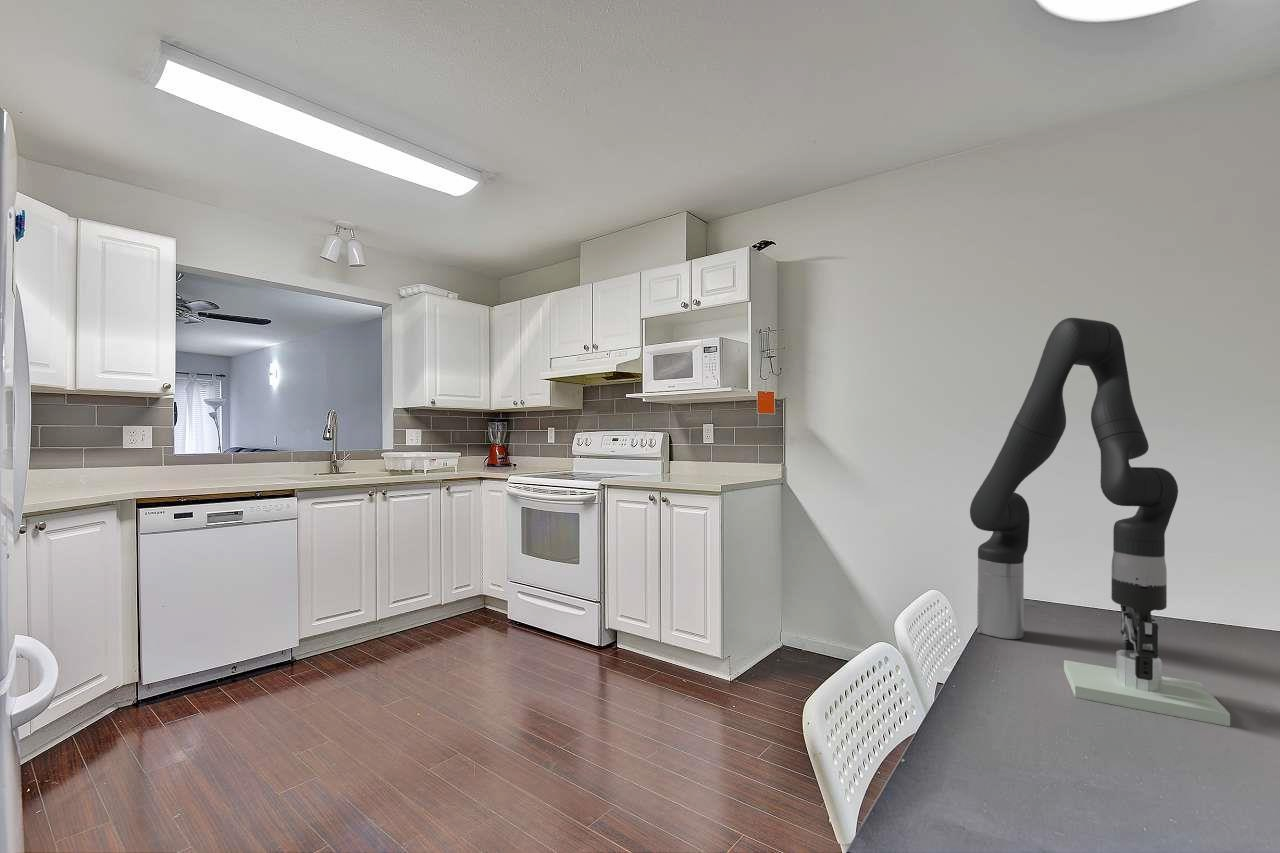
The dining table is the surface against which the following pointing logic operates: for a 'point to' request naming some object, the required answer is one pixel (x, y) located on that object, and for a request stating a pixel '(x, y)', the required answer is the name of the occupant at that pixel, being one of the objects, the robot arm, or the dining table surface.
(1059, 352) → the robot arm
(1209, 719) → the post base
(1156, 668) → the cylinder
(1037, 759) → the dining table surface
